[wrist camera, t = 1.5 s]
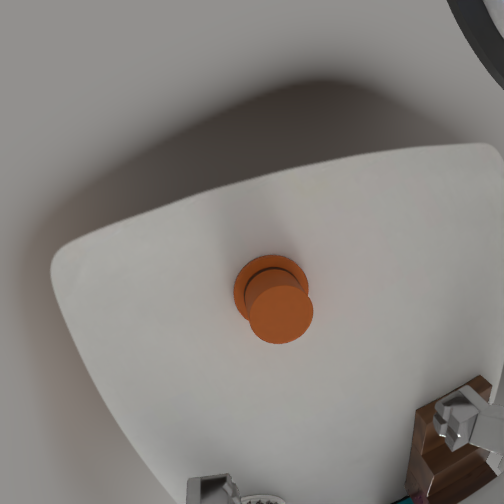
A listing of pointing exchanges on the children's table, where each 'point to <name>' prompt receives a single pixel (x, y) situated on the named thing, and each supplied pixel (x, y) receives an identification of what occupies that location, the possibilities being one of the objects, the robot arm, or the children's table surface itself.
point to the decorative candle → (262, 499)
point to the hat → (274, 298)
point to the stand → (445, 459)
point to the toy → (404, 500)
